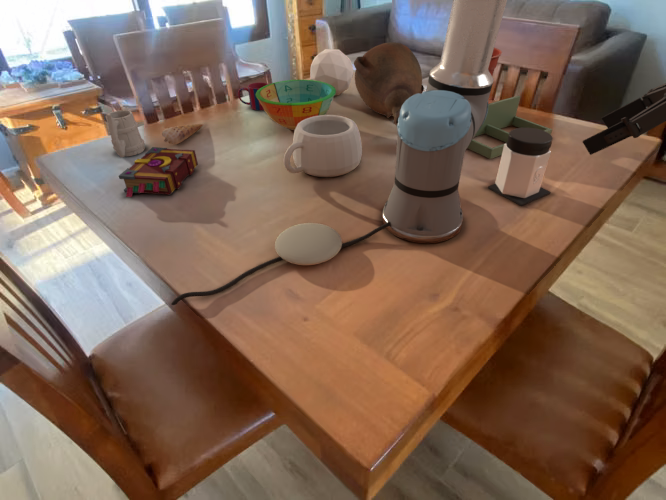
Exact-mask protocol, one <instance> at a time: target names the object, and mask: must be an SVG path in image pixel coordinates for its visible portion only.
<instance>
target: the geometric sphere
mask: <svg viewBox="0 0 666 500" xmlns="http://www.w3.org/2000/svg"><path fill="white" fill-rule="evenodd" d="M309 71H310V72H309V73H310V75H309V80H315V81H321V82H325V83H328V84H330V85H332V86H333V87H334V88H335V89H336V93H335V95H334V97H338V96H339V95H341V94H342V93H344V92H345V91H346V90H348V89H349V88H350V85H351V83H352V80H353V78H354V65H353V63H352V61H351V59H350V58H349V57H348V56H347V55H346V54H345V53H344V52H343V51H341V50H340V49H338V48H337V49H335V48H324V50H323V49H322V51H320V52H319V53H318V54H317V55H316V56H314V58H313V60H312V62H311V64H310V70H309Z"/></svg>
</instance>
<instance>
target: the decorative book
mask: <svg viewBox="0 0 666 500" xmlns="http://www.w3.org/2000/svg"><path fill="white" fill-rule="evenodd" d="M133 163H134V164H132V165H131V166H130V167H128V168H126V169H124V171H122V172H121V173H120V174H119V175H118V179H119V180H123V182H124V185H125V188H123V192H124V193H126V196H125V197H126V198H133V194H142V193H143V194H154V195H155V194H157V195H171V194H172V193H173V192H174V191H175V190H178V189H180V188H181V187H182V185H183V181H185V180H186V179H187V177H188V176H191V175H192V174H193V173H194V172H195V169H196V167H197V166H198V165H199V163H198V159H197V154H196V150H195V149H182V148H181V149H180V148H168V147H160V146H159V147H156V146H152V147H151V148H150V149H149V150H147V151H146V152H145V153H144V155H143V156H142V157H141V158H137V159H135V160H134V161H133Z"/></svg>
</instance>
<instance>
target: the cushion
mask: <svg viewBox="0 0 666 500" xmlns="http://www.w3.org/2000/svg"><path fill="white" fill-rule="evenodd" d="M342 244H343V240H342V236H341V234H340V233H339V232H338V231H337V230H336V229H334V228H333V227H331V226H329V225H326V224H323V223H319V222H304V223H298V224H295V225H292V226H289V227H287V228H285V229H284V230H283V231H282V232H280V233H279V235H277V237H276V239H275V242H274V250H275V252H276V254H277V255H278V257H281V258H282V259H284V260H283V261H285V262H287V263H289V264H290V263H291V264H292V265H298V266H314V265H320V264H323V263H326V262H328V261H330V260H332V259H333V258H334V257H336V256H337V255H338V253H339V252H340V251H341V249H342V248H341V246H342Z"/></svg>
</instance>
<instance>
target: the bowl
mask: <svg viewBox="0 0 666 500" xmlns="http://www.w3.org/2000/svg"><path fill="white" fill-rule="evenodd" d="M335 93H336V89H335V88H334V87H333V86H332V85H330V84H328V83H325V82H321V81H315V80H310V79H288V80H280V81H275V82H271V83H268V85H266V86H263V87H262V88H260V89H259V90H258V91H257V92H256V97H257V99H258V100H259V102H260V104H261V105H262V107H263V108H264V110H263V111H264V112H265V113H266V114H267V116H268V117H269V119H271V120H272V121H273V122H274V123H276V124H278V125H279V126H281V127H283V128H286V129H288V130H291V131H295V129H296V127H297V125H298V123H300V122H301V121H302V120H305V119H307V118H310V117H313V116H319V115H327V113H328V112H329V111H328V110H329V109H330V107H331V104H332V102H333V100H334V97H335V96H334V95H335Z"/></svg>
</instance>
